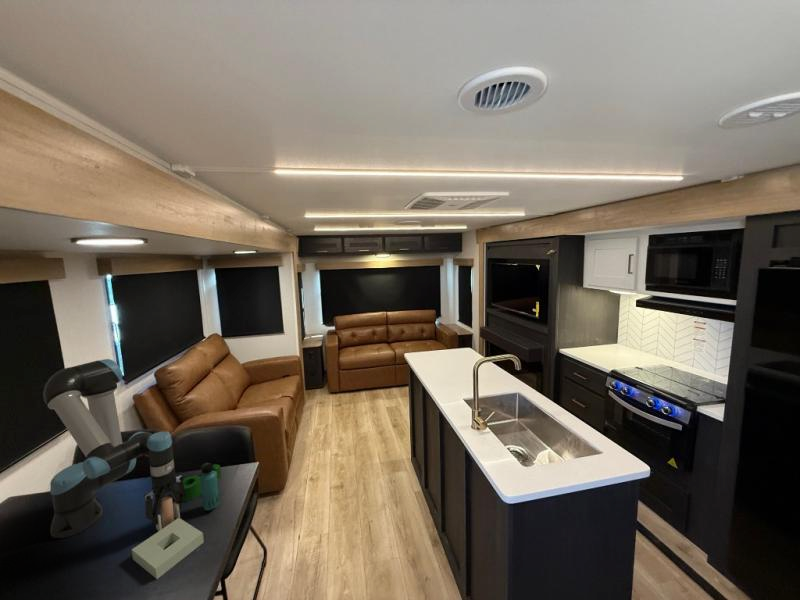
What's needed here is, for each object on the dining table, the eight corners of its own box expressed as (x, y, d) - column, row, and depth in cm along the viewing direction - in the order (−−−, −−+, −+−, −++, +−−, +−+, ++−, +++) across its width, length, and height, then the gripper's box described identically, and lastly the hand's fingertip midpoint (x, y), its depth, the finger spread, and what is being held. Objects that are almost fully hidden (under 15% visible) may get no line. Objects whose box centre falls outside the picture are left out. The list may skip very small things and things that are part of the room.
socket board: (133, 559, 116) (131, 549, 115) (179, 526, 130) (178, 517, 129) (157, 579, 109) (155, 568, 108) (203, 542, 123) (202, 532, 122)
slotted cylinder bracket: (190, 503, 143) (188, 490, 142) (173, 500, 145) (172, 487, 144) (220, 476, 160) (219, 464, 159) (205, 474, 162) (204, 462, 161)
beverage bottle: (207, 516, 135) (203, 472, 133) (199, 509, 139) (195, 467, 136) (223, 506, 141) (219, 464, 138) (214, 500, 144) (211, 459, 142)
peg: (160, 528, 129) (157, 501, 128) (171, 521, 133) (168, 495, 131) (166, 532, 127) (163, 505, 126) (176, 524, 131) (174, 498, 129)
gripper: (139, 489, 117) (146, 545, 120) (193, 460, 134) (197, 510, 137) (129, 483, 120) (136, 538, 123) (182, 455, 137) (187, 504, 140)
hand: (168, 523), depth 130 cm, fingers open, 6 cm apart
